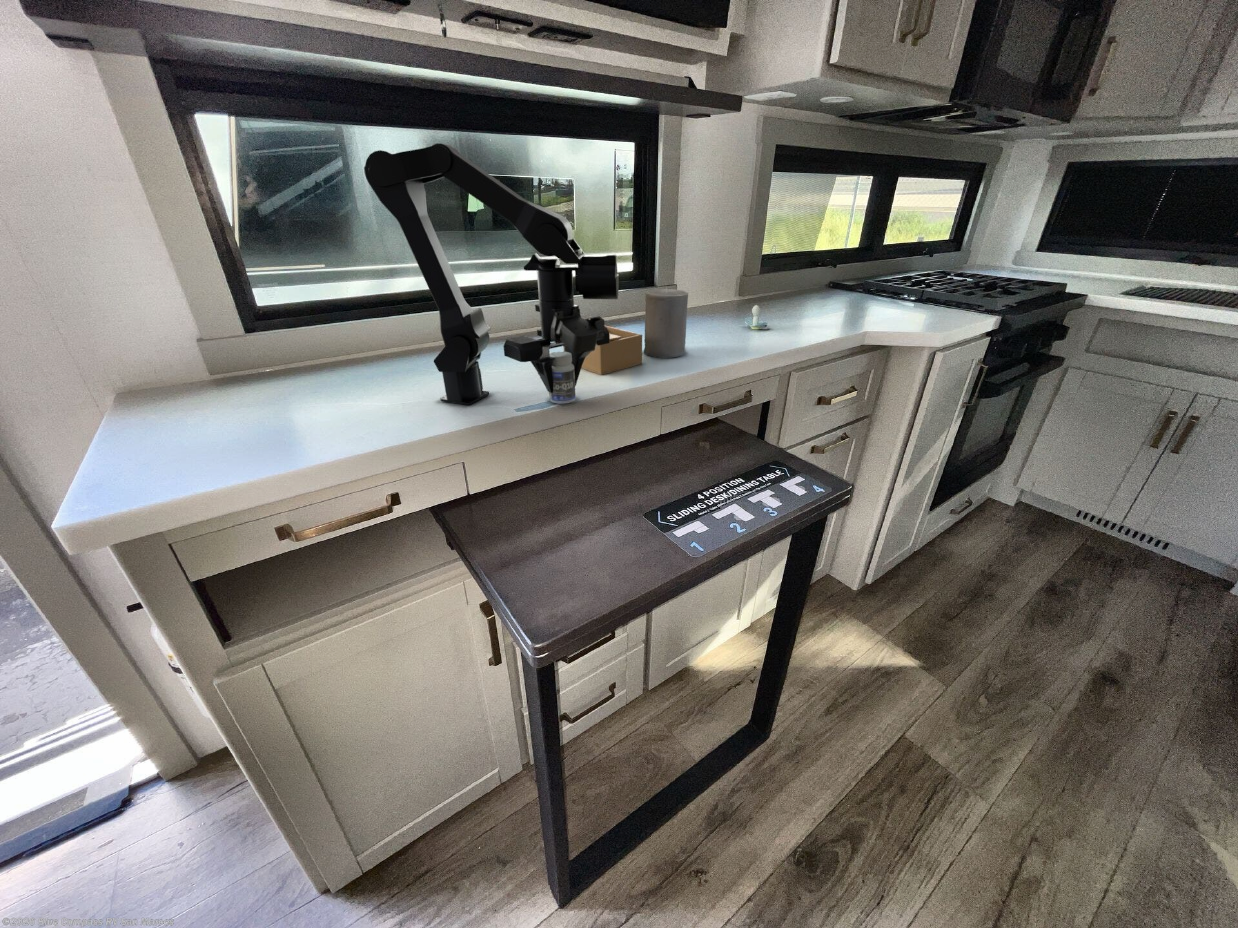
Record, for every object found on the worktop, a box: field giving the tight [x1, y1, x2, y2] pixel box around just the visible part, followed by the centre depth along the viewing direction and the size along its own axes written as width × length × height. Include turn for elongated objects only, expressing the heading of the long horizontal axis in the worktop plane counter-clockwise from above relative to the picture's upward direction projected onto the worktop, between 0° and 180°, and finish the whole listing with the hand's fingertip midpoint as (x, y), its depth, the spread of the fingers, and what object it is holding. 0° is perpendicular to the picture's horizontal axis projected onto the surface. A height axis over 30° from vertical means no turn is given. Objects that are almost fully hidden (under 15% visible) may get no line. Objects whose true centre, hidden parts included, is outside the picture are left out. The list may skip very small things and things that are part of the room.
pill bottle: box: [548, 351, 577, 405], centre depth 90 cm, size 5×5×8 cm
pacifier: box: [744, 304, 771, 330], centre depth 140 cm, size 7×6×6 cm
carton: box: [562, 325, 643, 376], centre depth 111 cm, size 12×13×6 cm
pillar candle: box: [643, 285, 689, 359], centre depth 116 cm, size 10×10×15 cm
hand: (561, 389), depth 91 cm, fingers closed on pill bottle, 5 cm apart
